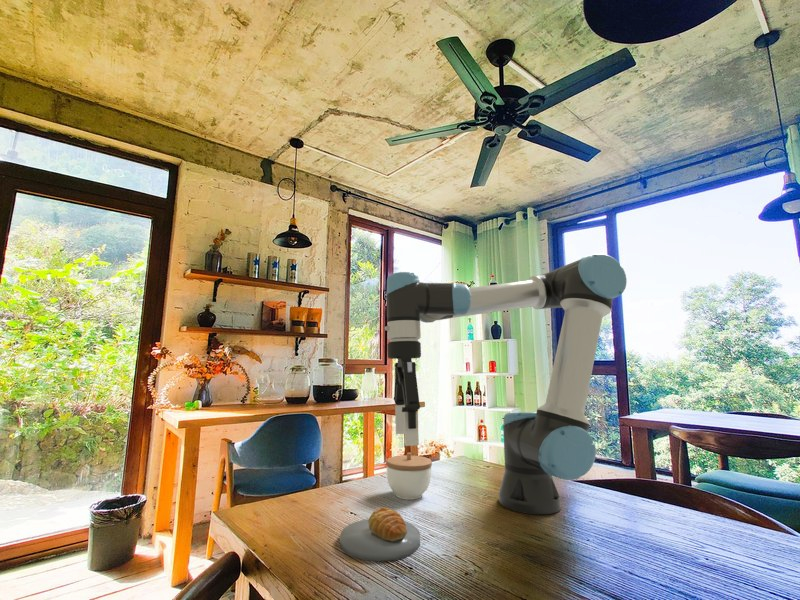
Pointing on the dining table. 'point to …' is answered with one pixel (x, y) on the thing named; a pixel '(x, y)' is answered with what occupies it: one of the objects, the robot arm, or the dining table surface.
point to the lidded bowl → (408, 475)
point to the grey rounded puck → (377, 543)
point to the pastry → (387, 524)
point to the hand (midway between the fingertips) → (406, 439)
